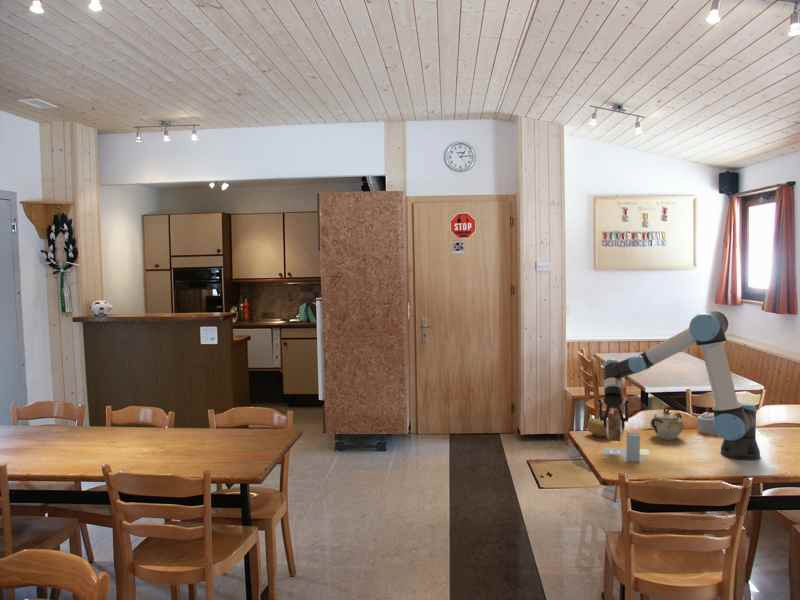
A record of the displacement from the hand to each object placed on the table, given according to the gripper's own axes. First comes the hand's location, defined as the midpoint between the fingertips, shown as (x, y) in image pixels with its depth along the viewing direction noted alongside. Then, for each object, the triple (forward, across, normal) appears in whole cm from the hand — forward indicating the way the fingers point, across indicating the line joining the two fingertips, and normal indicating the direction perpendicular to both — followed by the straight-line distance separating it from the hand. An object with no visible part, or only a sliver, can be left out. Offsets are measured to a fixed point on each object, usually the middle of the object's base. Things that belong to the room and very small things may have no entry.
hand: (614, 433), depth 274 cm
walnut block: (0, 0, -5) cm, 5 cm away
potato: (-13, +6, -27) cm, 30 cm away
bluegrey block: (+10, -7, -3) cm, 13 cm away
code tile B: (+11, -7, -3) cm, 13 cm away
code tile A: (+4, 0, -9) cm, 10 cm away
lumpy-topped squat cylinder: (-28, -47, -43) cm, 69 cm away
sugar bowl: (-17, -25, -31) cm, 43 cm away
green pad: (+2, -11, -12) cm, 16 cm away
